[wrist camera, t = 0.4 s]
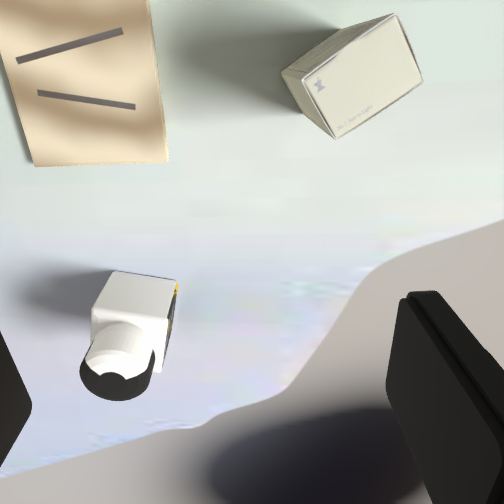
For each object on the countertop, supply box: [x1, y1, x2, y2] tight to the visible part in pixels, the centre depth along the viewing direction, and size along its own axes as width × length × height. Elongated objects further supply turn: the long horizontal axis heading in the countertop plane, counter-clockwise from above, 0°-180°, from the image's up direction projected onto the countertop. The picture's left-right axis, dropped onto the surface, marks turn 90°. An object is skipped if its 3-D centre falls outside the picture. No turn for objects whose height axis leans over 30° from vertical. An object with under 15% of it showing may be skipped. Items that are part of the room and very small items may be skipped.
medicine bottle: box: [79, 271, 178, 401], centre depth 38 cm, size 7×7×12 cm
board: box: [0, 0, 169, 167], centre depth 30 cm, size 24×12×1 cm, turn 2°
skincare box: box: [281, 13, 424, 140], centre depth 27 cm, size 6×4×12 cm
